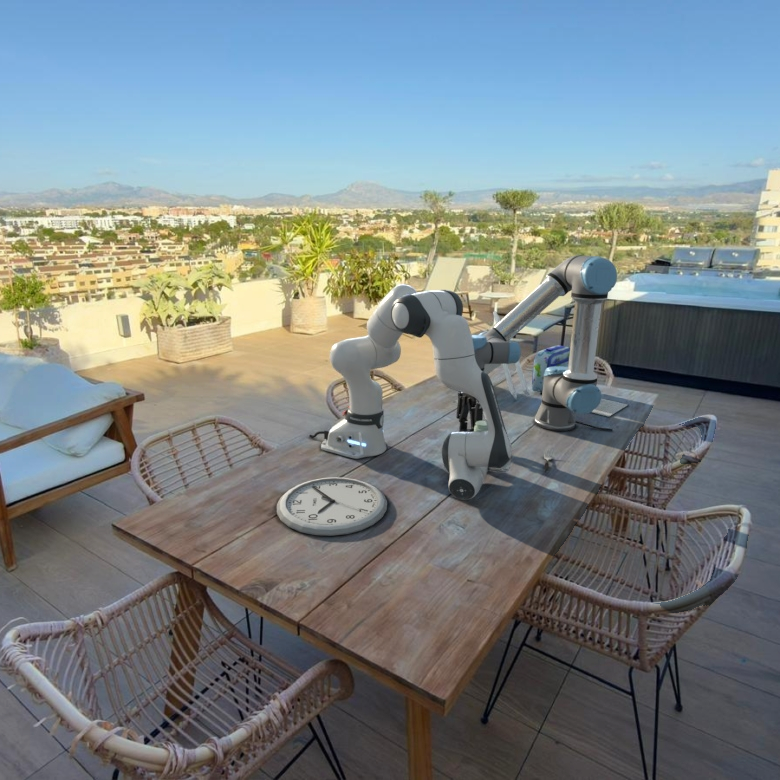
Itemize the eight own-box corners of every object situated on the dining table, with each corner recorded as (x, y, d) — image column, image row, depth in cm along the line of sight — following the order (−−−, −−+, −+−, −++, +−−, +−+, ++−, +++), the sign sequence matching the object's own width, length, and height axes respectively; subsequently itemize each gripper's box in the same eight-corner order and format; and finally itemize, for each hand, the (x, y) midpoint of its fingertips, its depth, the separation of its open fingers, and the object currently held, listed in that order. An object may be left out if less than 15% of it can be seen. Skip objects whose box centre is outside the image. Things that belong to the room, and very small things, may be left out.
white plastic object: (461, 429, 252) (437, 405, 227) (444, 352, 274) (420, 323, 250) (535, 404, 240) (518, 377, 215) (510, 326, 262) (492, 293, 237)
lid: (455, 437, 184) (456, 432, 184) (463, 431, 189) (464, 427, 188) (471, 441, 181) (471, 436, 180) (479, 436, 186) (479, 431, 185)
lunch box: (548, 398, 236) (553, 353, 229) (527, 393, 243) (531, 349, 237) (575, 387, 253) (581, 344, 247) (555, 382, 260) (560, 341, 254)
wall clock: (392, 527, 129) (268, 531, 127) (391, 533, 130) (269, 537, 127) (383, 473, 158) (282, 475, 155) (383, 478, 158) (282, 480, 156)
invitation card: (608, 416, 214) (573, 407, 224) (608, 416, 214) (573, 408, 224) (628, 404, 229) (594, 396, 238) (628, 405, 229) (594, 397, 238)
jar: (482, 462, 171) (485, 419, 166) (490, 469, 166) (494, 424, 162) (468, 464, 169) (471, 421, 164) (476, 471, 164) (479, 426, 160)
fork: (540, 473, 163) (541, 467, 163) (544, 453, 178) (545, 448, 177) (549, 474, 162) (550, 468, 162) (552, 454, 177) (553, 449, 176)
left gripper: (509, 462, 150) (515, 444, 162) (440, 451, 156) (450, 434, 169) (507, 481, 152) (513, 462, 164) (439, 470, 158) (449, 452, 170)
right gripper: (449, 374, 186) (445, 434, 193) (477, 389, 169) (472, 455, 176) (467, 372, 188) (462, 432, 195) (497, 387, 172) (490, 452, 179)
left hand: (481, 448), depth 166 cm, fingers closed on jar, 5 cm apart
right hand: (467, 442), depth 186 cm, fingers closed on lid, 6 cm apart
